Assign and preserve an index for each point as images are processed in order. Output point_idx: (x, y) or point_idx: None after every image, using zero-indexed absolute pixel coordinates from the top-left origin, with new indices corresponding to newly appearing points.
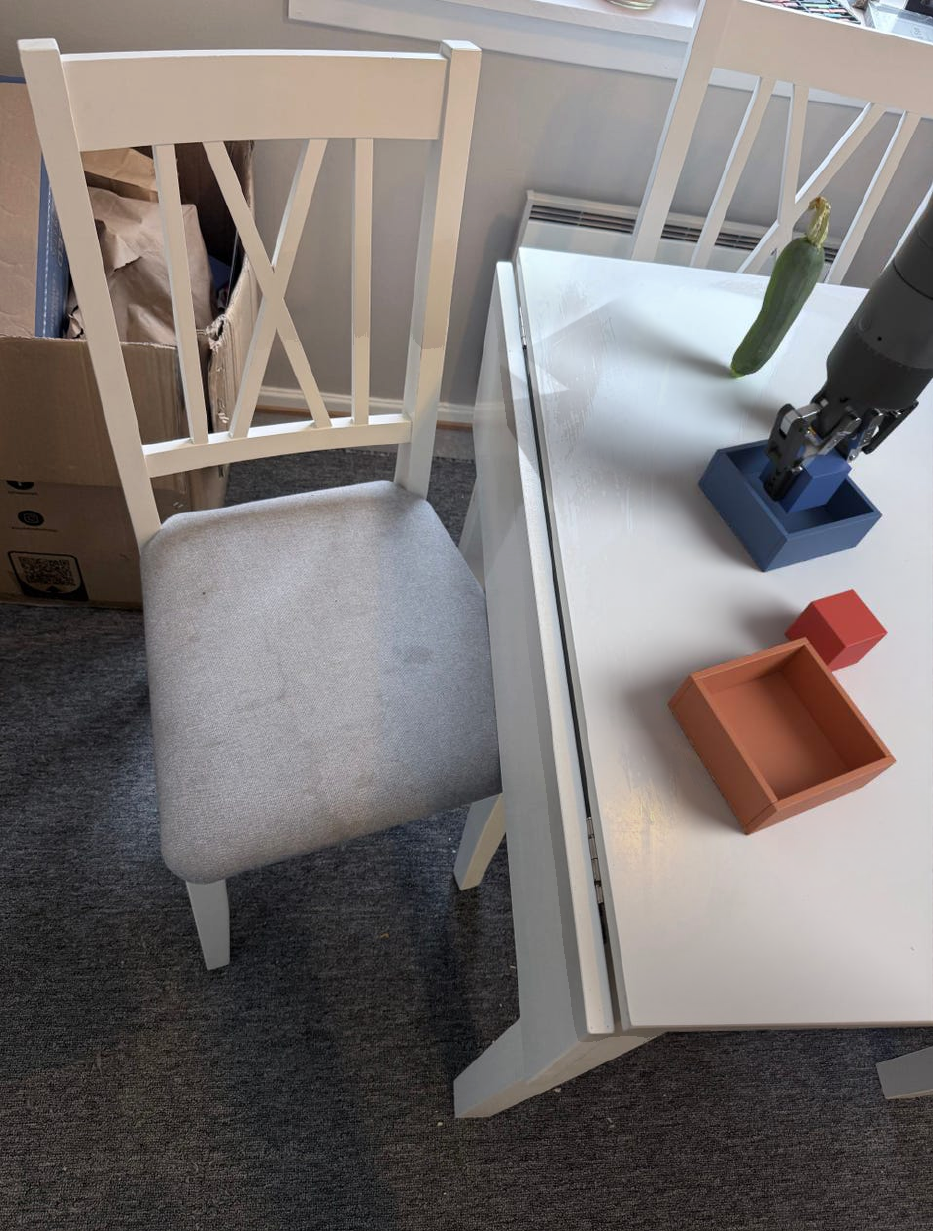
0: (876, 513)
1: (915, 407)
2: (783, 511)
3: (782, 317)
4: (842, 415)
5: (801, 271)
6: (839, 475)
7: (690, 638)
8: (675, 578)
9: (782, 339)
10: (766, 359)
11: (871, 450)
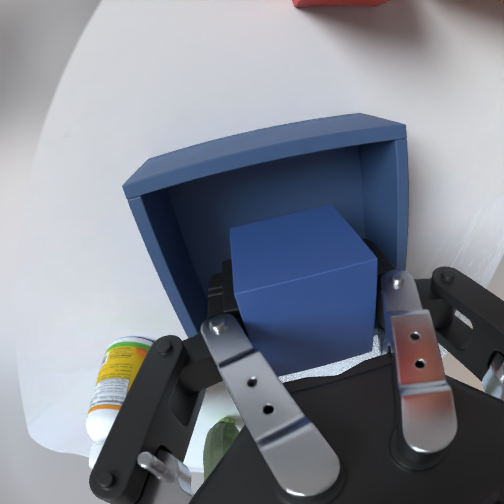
0: (136, 189)
1: (98, 481)
2: None
3: None
4: (459, 438)
5: None
6: (268, 274)
7: (483, 51)
8: (471, 133)
9: (211, 470)
10: (216, 444)
11: (166, 346)
